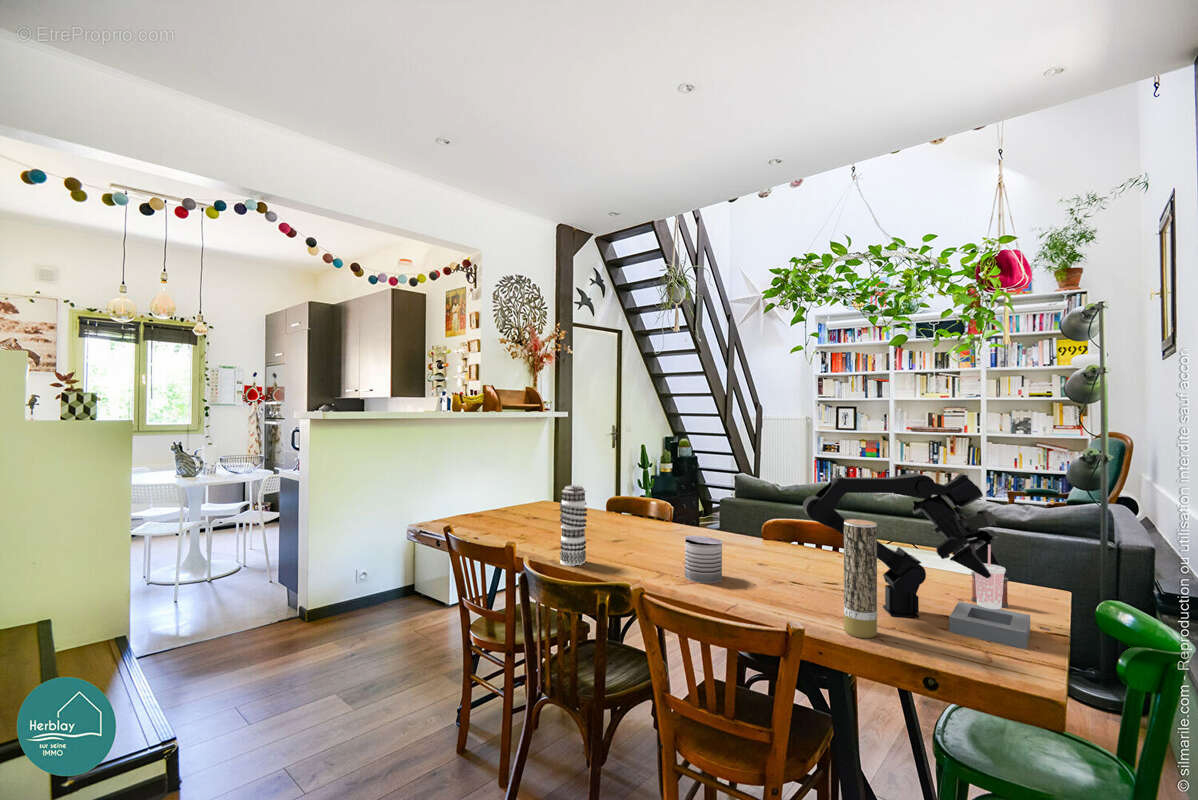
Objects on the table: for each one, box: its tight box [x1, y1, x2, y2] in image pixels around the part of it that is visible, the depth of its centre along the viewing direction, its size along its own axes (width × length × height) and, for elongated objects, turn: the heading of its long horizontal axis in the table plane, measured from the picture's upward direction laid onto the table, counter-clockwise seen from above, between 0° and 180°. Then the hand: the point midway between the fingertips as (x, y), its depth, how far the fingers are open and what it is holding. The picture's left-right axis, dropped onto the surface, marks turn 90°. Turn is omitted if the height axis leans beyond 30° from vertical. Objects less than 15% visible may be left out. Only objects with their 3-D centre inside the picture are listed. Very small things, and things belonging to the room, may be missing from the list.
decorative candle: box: [559, 484, 588, 567], centre depth 184 cm, size 9×9×25 cm
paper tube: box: [843, 518, 878, 639], centre depth 126 cm, size 7×7×25 cm
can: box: [683, 535, 724, 584], centre depth 168 cm, size 11×11×12 cm
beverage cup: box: [975, 544, 1007, 610], centre depth 129 cm, size 6×6×14 cm
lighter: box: [970, 571, 1009, 609], centre depth 147 cm, size 8×3×10 cm, turn 44°
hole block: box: [948, 601, 1031, 650], centre depth 128 cm, size 14×14×4 cm
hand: (996, 575), depth 127 cm, fingers closed on beverage cup, 6 cm apart
